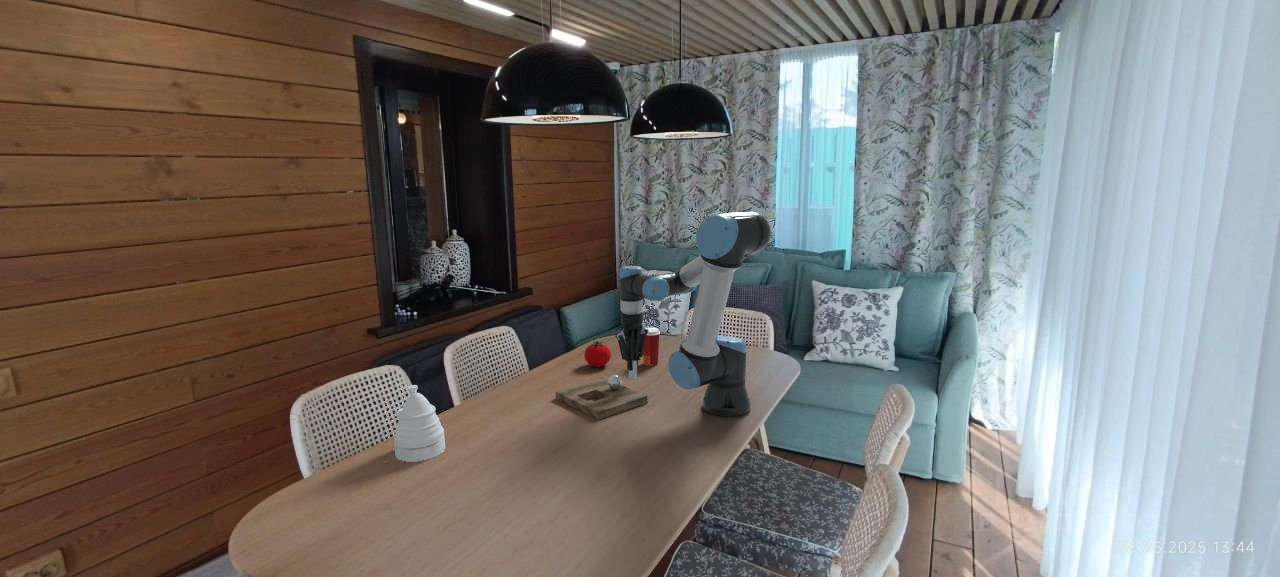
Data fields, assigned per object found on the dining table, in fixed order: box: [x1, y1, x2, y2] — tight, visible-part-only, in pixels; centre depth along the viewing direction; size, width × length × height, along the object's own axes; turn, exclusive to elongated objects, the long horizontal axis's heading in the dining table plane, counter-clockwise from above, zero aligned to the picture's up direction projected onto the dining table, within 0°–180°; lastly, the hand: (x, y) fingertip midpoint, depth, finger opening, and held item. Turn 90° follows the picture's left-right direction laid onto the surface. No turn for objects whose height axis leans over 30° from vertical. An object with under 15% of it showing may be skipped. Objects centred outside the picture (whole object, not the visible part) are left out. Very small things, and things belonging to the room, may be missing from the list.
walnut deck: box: [555, 377, 648, 421], centre depth 195 cm, size 24×20×2 cm
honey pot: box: [393, 384, 446, 463], centre depth 159 cm, size 13×13×18 cm
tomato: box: [583, 340, 612, 368], centre depth 230 cm, size 10×10×10 cm
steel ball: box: [607, 374, 623, 390], centre depth 198 cm, size 5×5×5 cm
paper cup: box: [642, 327, 661, 367], centre depth 231 cm, size 8×8×14 cm
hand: (632, 378), depth 203 cm, fingers closed
